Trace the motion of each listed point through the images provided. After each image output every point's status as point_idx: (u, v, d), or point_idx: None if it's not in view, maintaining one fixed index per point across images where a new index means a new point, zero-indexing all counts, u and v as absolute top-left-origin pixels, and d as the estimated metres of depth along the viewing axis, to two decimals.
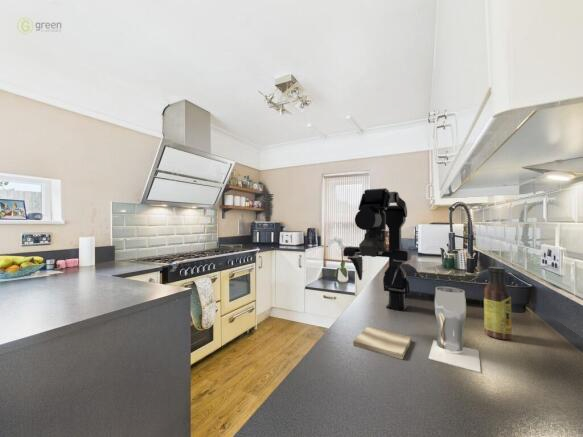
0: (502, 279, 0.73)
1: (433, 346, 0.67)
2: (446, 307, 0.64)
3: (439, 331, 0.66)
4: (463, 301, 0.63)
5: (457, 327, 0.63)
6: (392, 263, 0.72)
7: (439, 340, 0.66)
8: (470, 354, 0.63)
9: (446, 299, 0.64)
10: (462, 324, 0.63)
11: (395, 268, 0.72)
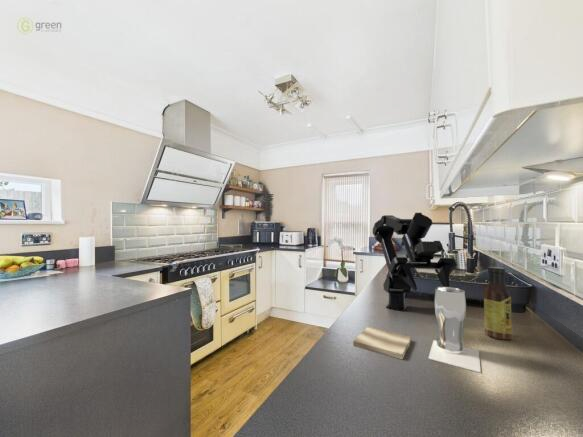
0: (502, 279, 0.73)
1: (433, 346, 0.67)
2: (446, 307, 0.64)
3: (439, 331, 0.66)
4: (463, 301, 0.63)
5: (457, 327, 0.63)
6: (445, 267, 0.76)
7: (439, 340, 0.66)
8: (470, 354, 0.63)
9: (446, 299, 0.64)
10: (462, 324, 0.63)
11: (448, 273, 0.76)
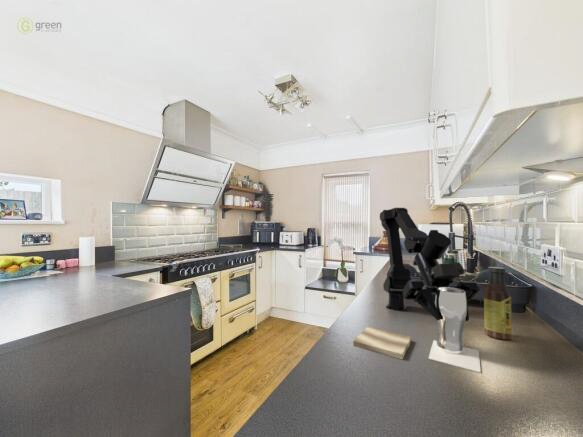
0: (502, 279, 0.73)
1: (433, 346, 0.67)
2: (447, 307, 0.63)
3: (439, 331, 0.66)
4: (464, 301, 0.63)
5: (457, 327, 0.63)
6: None
7: (439, 340, 0.66)
8: (470, 354, 0.63)
9: (447, 299, 0.64)
10: (462, 324, 0.63)
11: (466, 300, 0.67)
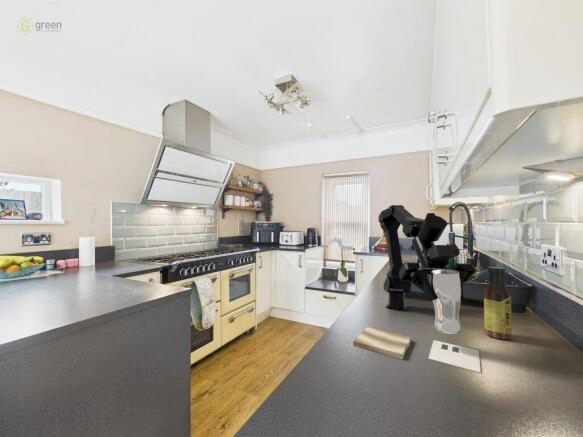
0: (502, 279, 0.73)
1: (433, 346, 0.67)
2: (441, 289, 0.64)
3: (436, 313, 0.67)
4: (457, 282, 0.64)
5: (453, 308, 0.64)
6: None
7: (436, 321, 0.67)
8: (470, 354, 0.63)
9: (440, 281, 0.64)
10: (458, 305, 0.64)
11: (461, 280, 0.68)
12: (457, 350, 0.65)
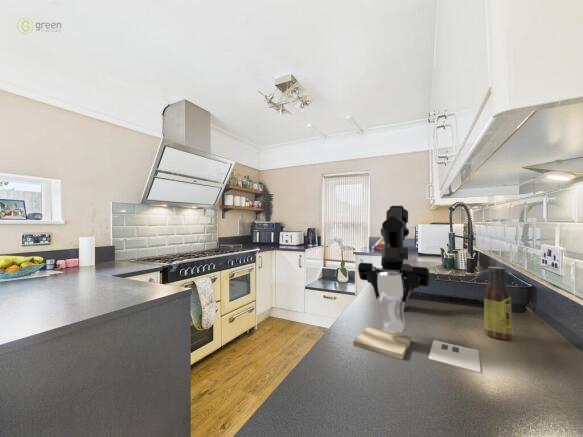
0: (502, 279, 0.73)
1: (433, 346, 0.67)
2: (380, 289, 0.68)
3: None
4: (395, 283, 0.66)
5: (391, 308, 0.67)
6: (408, 276, 0.69)
7: None
8: (470, 354, 0.63)
9: (380, 281, 0.69)
10: (396, 305, 0.66)
11: (410, 283, 0.69)
12: (457, 350, 0.65)
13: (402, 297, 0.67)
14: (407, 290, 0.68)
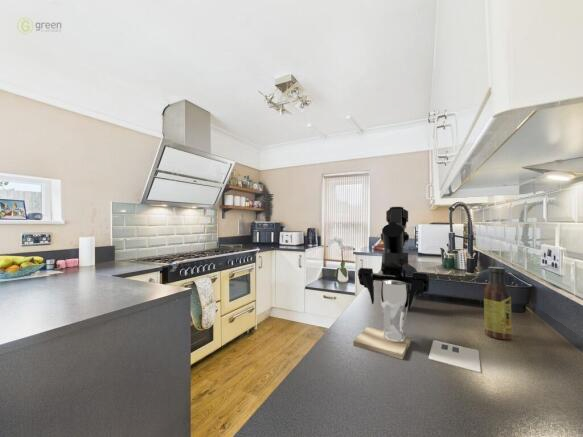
0: (502, 279, 0.73)
1: (433, 346, 0.67)
2: (384, 297, 0.68)
3: None
4: (399, 293, 0.66)
5: (393, 317, 0.67)
6: (412, 282, 0.69)
7: (383, 328, 0.70)
8: (470, 354, 0.63)
9: (384, 290, 0.68)
10: (399, 315, 0.66)
11: (415, 289, 0.68)
12: (457, 350, 0.65)
13: (405, 307, 0.67)
14: (411, 296, 0.67)
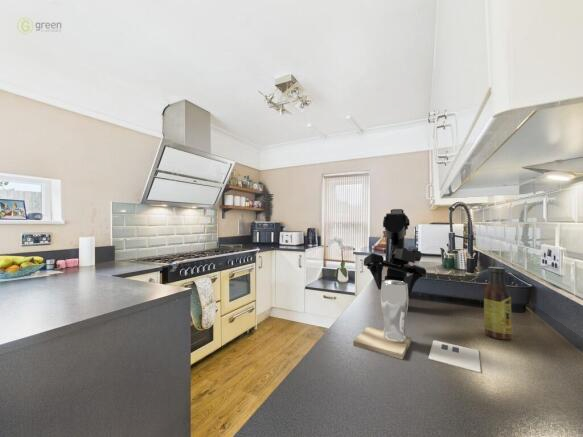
0: (502, 279, 0.73)
1: (433, 346, 0.67)
2: (384, 297, 0.68)
3: None
4: (399, 293, 0.66)
5: (393, 317, 0.67)
6: (414, 276, 0.79)
7: (383, 328, 0.70)
8: (470, 354, 0.63)
9: (384, 290, 0.68)
10: (399, 315, 0.66)
11: (414, 281, 0.79)
12: (457, 350, 0.65)
13: (405, 307, 0.67)
14: (411, 287, 0.79)
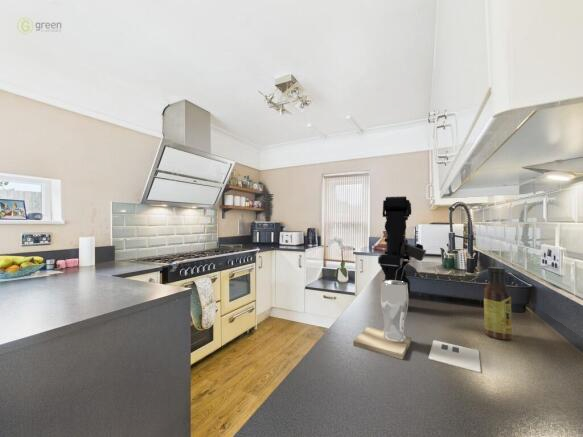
0: (502, 279, 0.73)
1: (433, 346, 0.67)
2: (384, 297, 0.68)
3: None
4: (399, 293, 0.66)
5: (393, 317, 0.67)
6: (407, 263, 0.84)
7: (383, 328, 0.70)
8: (470, 354, 0.63)
9: (384, 290, 0.68)
10: (399, 315, 0.66)
11: None
12: (457, 350, 0.65)
13: (405, 307, 0.67)
14: (402, 273, 0.85)
